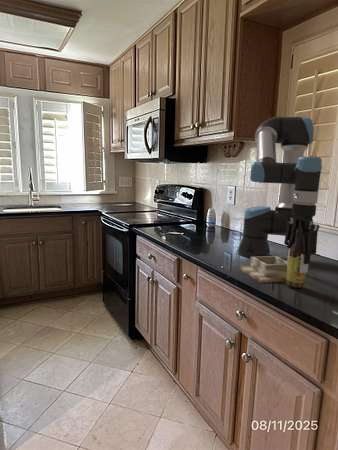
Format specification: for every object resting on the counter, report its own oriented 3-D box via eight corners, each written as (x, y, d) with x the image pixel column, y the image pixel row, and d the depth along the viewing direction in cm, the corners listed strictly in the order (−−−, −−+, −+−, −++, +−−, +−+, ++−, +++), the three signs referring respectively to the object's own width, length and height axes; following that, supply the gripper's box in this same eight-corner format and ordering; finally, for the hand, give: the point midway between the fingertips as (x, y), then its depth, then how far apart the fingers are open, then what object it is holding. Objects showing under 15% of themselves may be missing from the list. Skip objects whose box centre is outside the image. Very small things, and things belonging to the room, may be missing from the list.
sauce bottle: (297, 289, 107) (304, 232, 103) (281, 283, 112) (287, 229, 108) (308, 286, 111) (315, 231, 107) (292, 280, 116) (298, 227, 112)
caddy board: (239, 268, 130) (240, 255, 129) (277, 267, 134) (279, 254, 133) (260, 282, 114) (262, 267, 113) (302, 280, 119) (304, 265, 118)
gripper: (277, 200, 114) (271, 261, 119) (315, 207, 96) (306, 279, 100) (295, 200, 116) (288, 260, 121) (335, 207, 98) (325, 278, 102)
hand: (296, 269), depth 110 cm, fingers closed on sauce bottle, 6 cm apart
